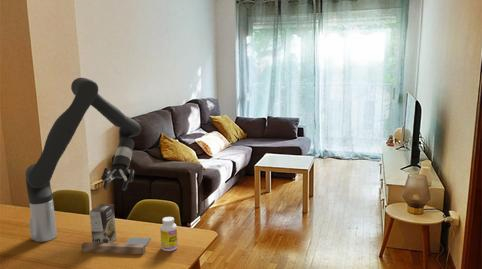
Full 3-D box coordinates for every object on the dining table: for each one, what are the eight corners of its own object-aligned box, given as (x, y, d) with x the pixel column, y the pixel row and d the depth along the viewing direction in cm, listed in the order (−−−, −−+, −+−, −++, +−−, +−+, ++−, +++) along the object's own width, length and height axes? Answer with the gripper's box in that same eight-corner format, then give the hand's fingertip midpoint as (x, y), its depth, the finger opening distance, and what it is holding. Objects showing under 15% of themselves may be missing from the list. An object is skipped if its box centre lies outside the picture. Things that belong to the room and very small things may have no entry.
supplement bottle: (169, 253, 159) (168, 223, 157) (158, 249, 163) (156, 219, 161) (181, 246, 165) (179, 217, 162) (169, 242, 169) (168, 214, 166)
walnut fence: (82, 251, 162) (81, 245, 161) (84, 249, 164) (84, 242, 164) (143, 254, 159) (142, 247, 158) (145, 251, 161) (145, 244, 161)
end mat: (121, 249, 163) (121, 248, 163) (130, 238, 173) (130, 237, 173) (142, 250, 162) (142, 249, 162) (150, 239, 172) (150, 238, 172)
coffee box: (106, 248, 164) (103, 212, 161) (92, 247, 165) (88, 211, 162) (117, 239, 173) (114, 204, 170) (103, 237, 174) (100, 203, 171)
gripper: (105, 154, 185) (96, 185, 176) (134, 154, 183) (126, 186, 174) (111, 162, 191) (102, 192, 182) (139, 162, 190) (132, 193, 181)
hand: (114, 189), depth 178 cm, fingers open, 8 cm apart
